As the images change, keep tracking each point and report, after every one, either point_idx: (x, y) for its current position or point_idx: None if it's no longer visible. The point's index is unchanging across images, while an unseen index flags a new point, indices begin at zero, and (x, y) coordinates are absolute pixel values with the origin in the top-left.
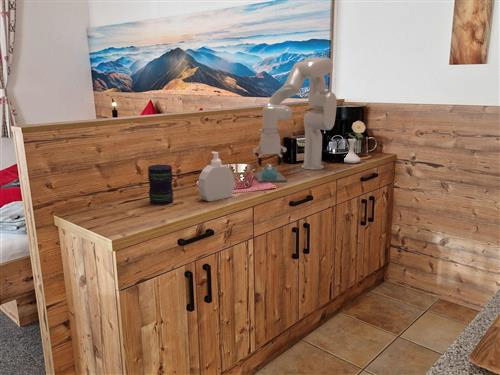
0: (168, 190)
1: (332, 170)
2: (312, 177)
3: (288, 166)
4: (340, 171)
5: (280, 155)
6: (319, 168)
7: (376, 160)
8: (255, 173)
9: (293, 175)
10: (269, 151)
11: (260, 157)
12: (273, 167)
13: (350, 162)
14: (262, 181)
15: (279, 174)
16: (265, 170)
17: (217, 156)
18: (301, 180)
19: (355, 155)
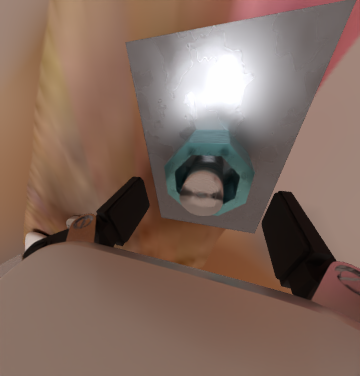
0: None
1: (48, 204)
2: (58, 142)
3: None
4: (29, 192)
5: (81, 228)
6: (71, 217)
7: (24, 236)
8: (252, 218)
9: (120, 181)
10: (186, 347)
11: (313, 267)
12: (177, 200)
13: (40, 234)
14: (316, 8)
15: (161, 183)
16: (241, 156)
17: None
18: (76, 90)
19: (25, 245)
